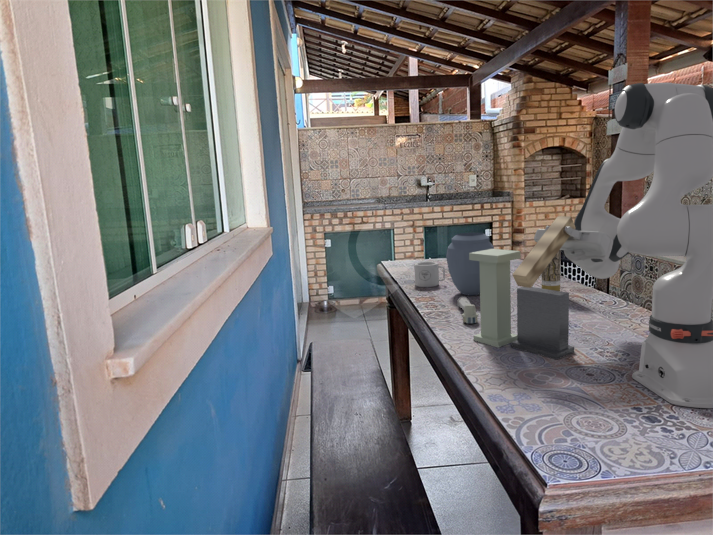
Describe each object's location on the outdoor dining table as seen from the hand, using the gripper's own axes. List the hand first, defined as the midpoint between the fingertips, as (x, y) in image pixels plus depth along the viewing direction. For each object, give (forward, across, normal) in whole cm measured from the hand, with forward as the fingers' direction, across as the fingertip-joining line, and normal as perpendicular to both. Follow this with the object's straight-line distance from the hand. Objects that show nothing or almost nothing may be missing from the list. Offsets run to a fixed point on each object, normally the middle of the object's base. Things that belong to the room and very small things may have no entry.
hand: (556, 228), depth 138 cm
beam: (0, 0, +8) cm, 8 cm away
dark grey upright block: (-10, 0, +31) cm, 33 cm away
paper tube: (-59, -35, +3) cm, 69 cm away
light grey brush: (-22, -39, +25) cm, 52 cm away
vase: (-44, -60, +12) cm, 75 cm away
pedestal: (-9, -14, +32) cm, 36 cm away
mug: (-45, -85, +11) cm, 97 cm away
